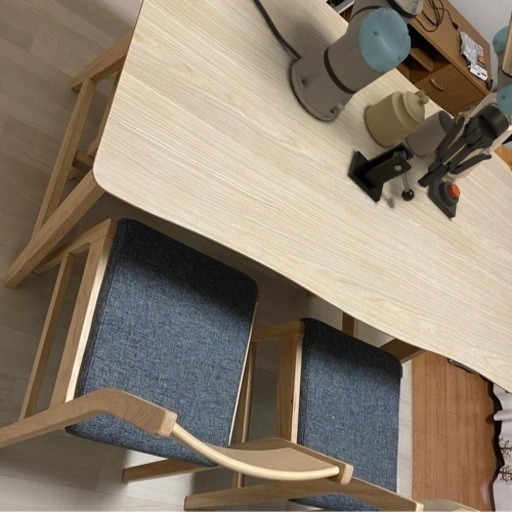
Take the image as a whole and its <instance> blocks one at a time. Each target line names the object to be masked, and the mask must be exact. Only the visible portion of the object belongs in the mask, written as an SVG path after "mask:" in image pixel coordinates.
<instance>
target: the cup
mask: <svg viewBox="0 0 512 512" xmlns="http://www.w3.org/2000/svg"><path fill="white" fill-rule="evenodd" d="M453 123H454V121H453V118H452V116H451V115H450V114H449V113H448V112H447V111H445V110H444V109H440V110H438V111H437V112H435V113H433V114H431V115H429V116H427V117H426V118H424V121H423V122H420V127H419V129H418V130H417V131H416V132H414V133H412V134H411V135H409V136H407V137H406V141H407V143H408V146H409V147H410V150H411V151H412V152H413V154H414V155H417V156H418V157H423V156H425V155H428V154H429V153H431V152H434V151H435V149H436V148H437V147H438V145H439V144H440V142H441V141H442V140H443V138H444V137H445V136H446V134H447V133H448V131H449V130H450V129H451V127H452V126H453ZM455 139H456V137H455ZM455 139H454V140H455Z"/></svg>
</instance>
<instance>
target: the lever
mask: <svg viewBox="0 0 512 512" xmlns="http://www.w3.org/2000/svg"><path fill="white" fill-rule="evenodd" d="M398 154H400V155H401V156H402V157H403V158H404V159H405V160H406V161H407V162H408V160H407V158H406V153H405V151H395V152H394V155H393V157H394V156H396V155H398ZM400 178H401V183H402V187H403V190H402V191H401V193H400V195H401V198H402V200H403V201H404V202H411V201H412V200H413V199H414V198H415V191H414V190H413V189H412V188H410V185H409V181H408V176H407V172H405V173H403V174H401V175H400Z"/></svg>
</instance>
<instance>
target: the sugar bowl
mask: <svg viewBox="0 0 512 512" xmlns="http://www.w3.org/2000/svg"><path fill="white" fill-rule="evenodd" d="M430 99H431V98H430V96H428V95H426V92H425V91H424V90H422V89H419V90H418V91H416V92H412V91H410V90H405V91H404V92H403V91H401V90H396V91H395V90H394V92H392V93H390V94H389V95H387V96H385V97H384V98H382V99H381V100H379V101H377V102H376V103H374V104H373V105H371V106H370V107H368V109H367V110H366V111H365V123H366V126H367V128H368V131H369V133H370V134H371V136H372V137H373V138H374V140H375V141H376V142H377V143H378V144H380V145H381V146H384V147H390V146H392V145H394V144H396V143H398V142H400V141H402V140H403V139H405V138H407V136H409V135H411V134H412V133H414V132H416V131H417V130H418V129H419V127H420V122H423V121H424V119H426V118H425V117H426V116H425V115H426V108H425V105H427V104H428V103H429V102H430Z"/></svg>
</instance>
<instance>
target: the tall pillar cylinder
mask: <svg viewBox="0 0 512 512" xmlns="http://www.w3.org/2000/svg"><path fill="white" fill-rule="evenodd" d="M496 95H497V91H496V92H491V93H489V94H487V95H486V96H485V97H484V98H483V99H482V100H481V101H480V103H478V104H479V105H478V104H477V105H478V106H477V107H476V108H475V110H474V111H473V112H472V113H471V114H470V115H469V116H468V118H470V117H473V116H474V115H475V114H476V113H478V112H479V111H480V110H481V109H482V108H483V107H484V106H485V105H488V103H489V102H490V101H491V100H492V99H493V98H494V97H495V96H496ZM468 118H467V119H468ZM464 127H465V126H464ZM464 127H462V129H461V130H460V132H459V133H458V135H457V136H456V139H455V140H453V141H452V143H451V144H450V146H451V145H452V144H453V143H454V142H455V141H456V140H457V139H458V138H459V137H460V136H461V135H462V134H463V130H464ZM511 135H512V126H509V128H508V129H507V130H506V131H505V132H504V133H503V134H502V135H501V136H500V137H498V138H497V139H496V140H494V142H493V144H492V146H491V147H489V153H490V154H491V155H492V154H493V152H494V151H495V150H496V149H498V148H499V146H501V145H502V144H503V143H504V142H506V140H507V139H508V138H509V137H510V136H511ZM465 145H466V144H465ZM465 145H464V146H465ZM450 146H449V147H450ZM464 146H463V147H462V148H461V149H459V150H458V151H457V152H456V153H455V154H454V155H453V156H452V157H450V158H449V159H448V160H447V161H446V162H445V163H443V164H444V165H445V164H446V163H447V162H448V161H449V160H451V159H452V158H453V157H454V156H455V155H456V154H457V153H458V152H459V151H461V150H462V149H463V148H464ZM449 147H448V148H449ZM482 150H483V149H476V150H475V151H474V152H472V153H470V154H469V155H468V156H467V157H466V158H465V159H464V160H463V161H462V162H464V161H466V160H468V159H470V158H471V157H473V156H475V155H478V154H479V152H480V151H482ZM484 161H485V160H483V161H481V162H479V163H477V164H476V165H474V166H472V167H470V168H469V169H467V170H465V171H463V172H461V173H460V174H458V175H454V174H450V173H449V172H448V173H447V174H446V175H445V176H447V177H449V178H452V179H457V180H459V179H465V178H466V177H468V176H469V175H470V174H471V173H473V172H474V170H475V169H477V168H478V167H479V166H480V165H481V164H482V163H483V162H484ZM462 162H460V163H459V164H461V163H462ZM459 164H458V165H459Z"/></svg>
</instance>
